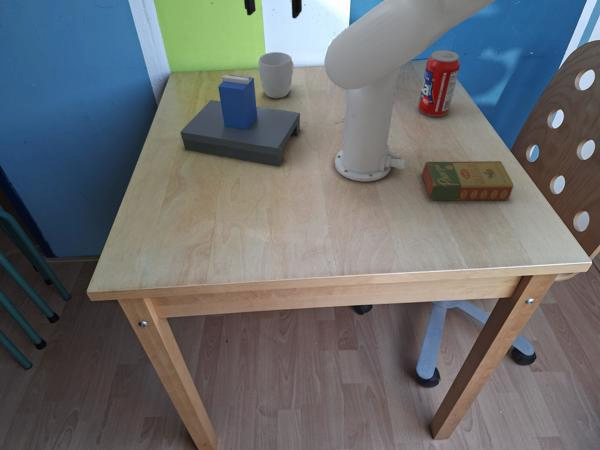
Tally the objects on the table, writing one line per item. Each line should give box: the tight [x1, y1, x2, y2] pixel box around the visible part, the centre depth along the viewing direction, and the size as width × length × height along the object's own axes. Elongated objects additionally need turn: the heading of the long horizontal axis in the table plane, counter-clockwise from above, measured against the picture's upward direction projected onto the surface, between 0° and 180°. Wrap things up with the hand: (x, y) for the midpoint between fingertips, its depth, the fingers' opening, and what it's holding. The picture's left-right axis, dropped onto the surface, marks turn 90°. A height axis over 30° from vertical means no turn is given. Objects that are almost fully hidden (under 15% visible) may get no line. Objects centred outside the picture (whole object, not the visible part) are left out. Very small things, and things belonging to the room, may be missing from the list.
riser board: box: [179, 99, 301, 167], centre depth 102 cm, size 24×16×5 cm, turn 72°
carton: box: [421, 160, 515, 201], centre depth 88 cm, size 8×16×4 cm, turn 89°
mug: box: [258, 51, 295, 99], centre depth 119 cm, size 13×9×10 cm
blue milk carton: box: [217, 74, 258, 130], centre depth 97 cm, size 6×6×11 cm
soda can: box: [418, 49, 461, 118], centre depth 107 cm, size 8×8×15 cm
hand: (273, 14), depth 87 cm, fingers open, 9 cm apart
